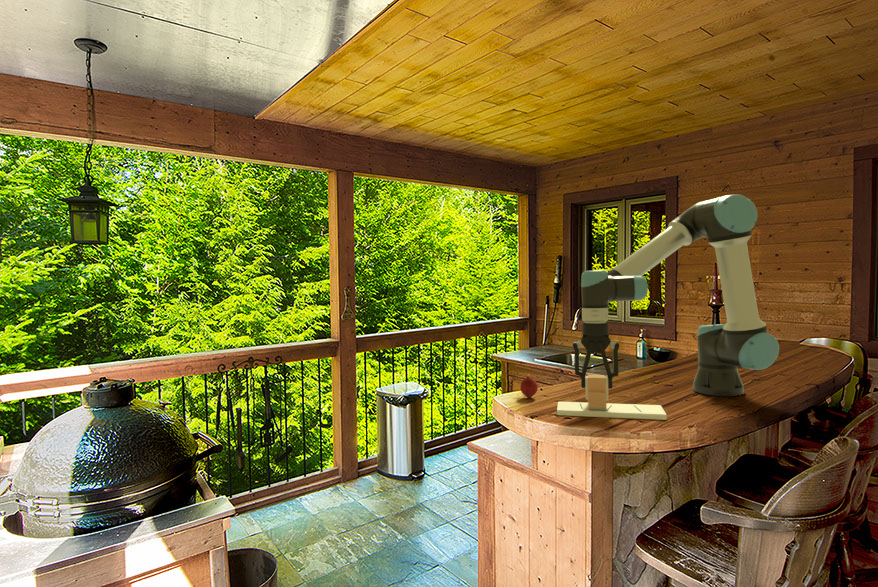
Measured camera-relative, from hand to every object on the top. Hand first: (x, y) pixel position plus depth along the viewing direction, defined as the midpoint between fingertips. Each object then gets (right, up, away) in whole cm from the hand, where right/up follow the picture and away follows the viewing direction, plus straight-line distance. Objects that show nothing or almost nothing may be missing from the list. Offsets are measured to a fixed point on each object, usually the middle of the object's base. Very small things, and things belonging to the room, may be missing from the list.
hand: (596, 398), depth 146 cm
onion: (-17, -4, +20) cm, 26 cm away
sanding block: (0, -2, 0) cm, 2 cm away
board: (+3, -4, -1) cm, 5 cm away
